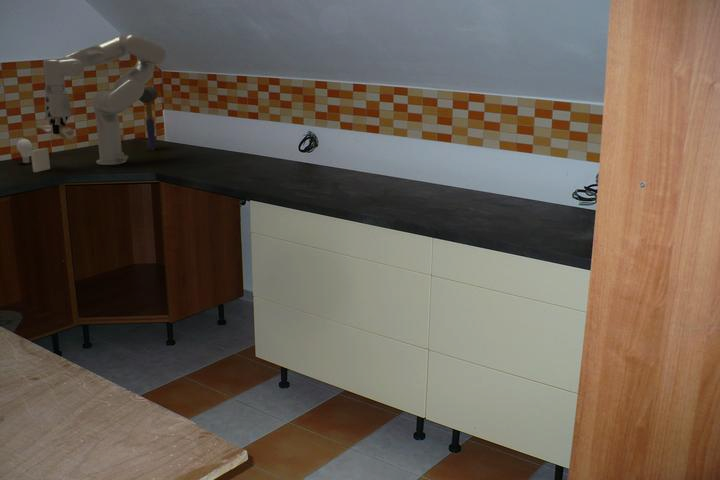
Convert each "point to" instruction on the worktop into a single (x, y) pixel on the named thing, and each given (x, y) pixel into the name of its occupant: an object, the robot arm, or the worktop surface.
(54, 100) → the robot arm
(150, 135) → the rubber mallet
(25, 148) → the lightbulb
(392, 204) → the worktop surface
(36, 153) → the tile
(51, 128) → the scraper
